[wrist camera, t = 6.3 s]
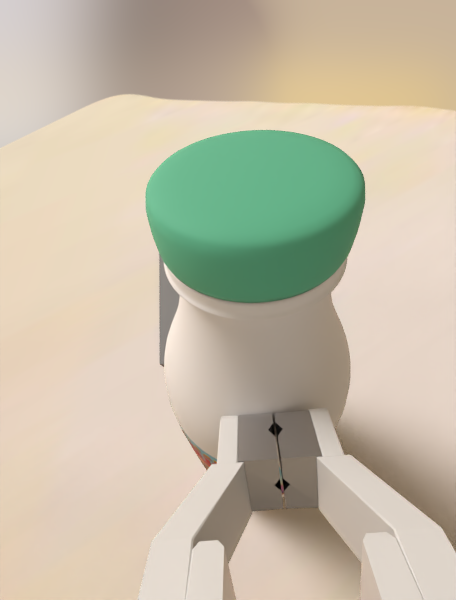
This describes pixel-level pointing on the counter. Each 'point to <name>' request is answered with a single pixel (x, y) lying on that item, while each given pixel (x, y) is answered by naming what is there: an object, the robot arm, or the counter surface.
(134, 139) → the counter surface
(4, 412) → the counter surface
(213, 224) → the milk bottle
